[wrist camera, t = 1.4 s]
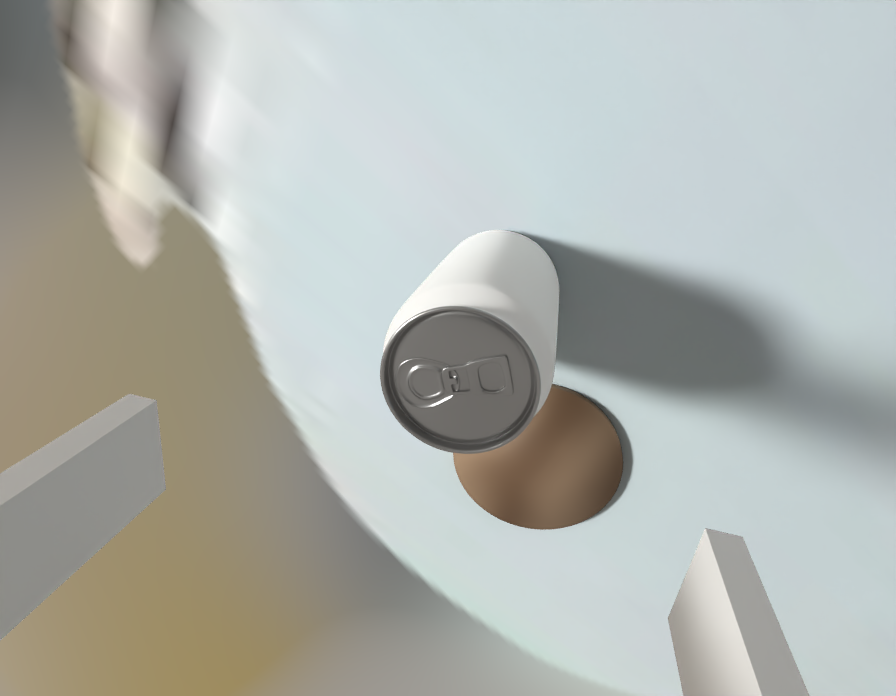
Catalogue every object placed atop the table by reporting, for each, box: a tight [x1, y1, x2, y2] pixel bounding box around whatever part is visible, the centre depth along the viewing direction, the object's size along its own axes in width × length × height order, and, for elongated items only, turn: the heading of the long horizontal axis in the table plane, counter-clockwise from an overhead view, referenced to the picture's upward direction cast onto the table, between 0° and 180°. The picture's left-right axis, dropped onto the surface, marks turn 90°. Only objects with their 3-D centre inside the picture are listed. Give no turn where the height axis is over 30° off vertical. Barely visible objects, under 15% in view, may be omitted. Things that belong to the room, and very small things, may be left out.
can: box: [380, 230, 559, 454], centre depth 24 cm, size 6×6×12 cm
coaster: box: [453, 384, 623, 529], centre depth 33 cm, size 10×10×1 cm
